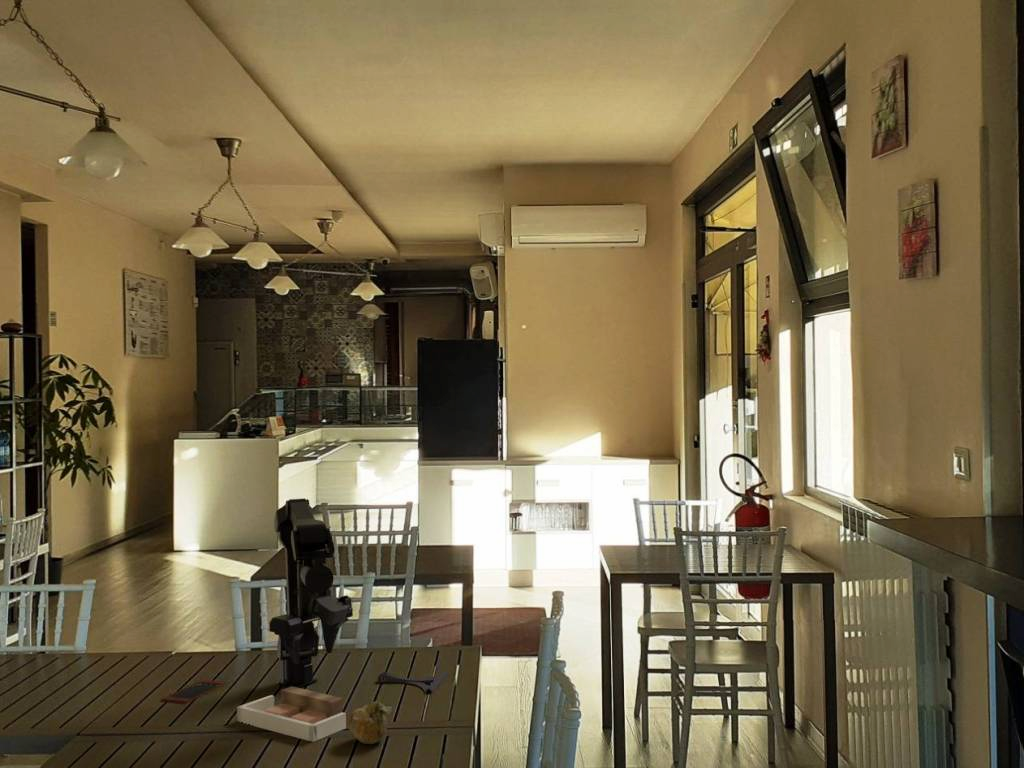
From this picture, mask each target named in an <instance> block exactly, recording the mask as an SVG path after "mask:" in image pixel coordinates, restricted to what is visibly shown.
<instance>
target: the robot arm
mask: <svg viewBox="0 0 1024 768" xmlns="http://www.w3.org/2000/svg"><path fill="white" fill-rule="evenodd" d="M284 503H285V504H284V505H282V506H281V507H279V508H278V509H277V510H276V511H275V515H274V520H273V521H274V523H273V524H274V532H275V533H277V539H278V542H279V543H280V545H281V546H282V548H283V549H284V552H285V555H284V556H285V558H284V559H285V580H286V581H285V582H286V584H285V585H286V604H287V605H286V606H287V609H286V610H287V614H281V615H277V616H273V617H272V618H271V619H270V620H269V624H268V625H269V632H270V633H274V635H275V636H276V635H277V636H278V639H277V645H276V647H277V650H276V651H277V657H278V658H279V659H278V660H279V661H280V662H281V661H282V673H283V674H282V676H283V679H282V680H279V681H278V682H277V684H278V685H281V686H286V687H292V686H293V687H297V688H302V687H304V686H307V685H310V684H313V683H315V682H317V681H318V678H314V675H313V673H314V670H313V669H314V667H313V666H314V665H313V664H314V663H313V661H312V657H315V658H316V657H318V655H319V644H320V635H319V634H318V632H317V630H316V629H315V624H314V622H317V621H319V620H320V624H321V630H322V636H323V643H324V647H325V651H326V653H327V654H332V652H333V649H334V645H335V643H336V639H337V637H338V634H339V631H340V628H341V627H342V626H343V625H344V624H345V623H346V622H348V621H349V619H350V618H351V617H353V616H354V613H353V611H354V610H353V605H352V604H353V603H352V597H350V596H349V595H347V594H345V595H343V596H340V597H335V598H334V597H332V594H331V593H332V590H331V587H332V585H333V583H334V579H335V578H334V574H333V571H332V570H331V568H330V567H329V566H328V565H327V563H326V562H327V559H332V558H334V553H335V543H334V538H333V534H332V532H331V530H330V528H329V527H327V524H326V523H325V522H324V521H323V520H320V519H316V518H315V517H314V511H313V507H311V506H310V500H309V499H308V498H307V499H306V498H291V499H288V500H286V501H285V502H284Z"/></svg>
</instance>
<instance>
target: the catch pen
mask: <svg viewBox="0 0 1024 768" xmlns="http://www.w3.org/2000/svg"><path fill="white" fill-rule="evenodd" d="M274 706H275V696H274V695H272V694H271V695H268V696H265V697H262V698H259V699H256V700H253V701H250V702H247V703H244V704H242V705H239V706H237V707H236V710H237V711H236V713H237V715H236V716H237V717H236V718H237V722H238V721H239V723H241V722H243V723H242V724H245V723H246V724H245V725H248V724H250V725H249V726H252V725H253V727H256V728H260V729H264V730H267V731H271V732H275V733H279V734H282V735H286V736H289V737H290V736H291V737H294V738H298V739H300V740H304V741H309V742H313V743H314V742H316V741H318V740H321V739H325V738H326V737H328V736H331V735H333V734H336V733H338V732H340V731H342V730H345V729H347V716H346V714H347V713H346V712H342V713H339V714H337V715H334V716H332V717H329V718H327V719H324V720H322V721H319V722H317V723H314V724H311V723H307V722H303V721H299V720H295V719H291V718H288V717H284V716H280V715H276V714H272V713H268V712H265V709H268V708H271V707H274Z"/></svg>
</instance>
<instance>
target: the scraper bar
mask: <svg viewBox="0 0 1024 768" xmlns="http://www.w3.org/2000/svg"><path fill="white" fill-rule="evenodd" d="M280 695H281V697H280V698H281V700H280V701H281V702H280V704H282V703H285V704H288V705H292V706H296V707H300V713H302V712H304V711H307V710H313V711H317V712H321V713H325V714H327V718H329V717H332V716H334V715H337V714H339V713H342V712H343V698H342V697H339V696H335V695H330V694H326V693H321V692H317V691H313V690H309V689H305V688H302V687H299V688H297V687H293V686H292V687H290V686H288V687H286V688H284V689H281V690H280ZM343 713H344V712H343Z"/></svg>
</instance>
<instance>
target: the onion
mask: <svg viewBox="0 0 1024 768" xmlns="http://www.w3.org/2000/svg"><path fill="white" fill-rule="evenodd" d="M393 710H394V709H393V707H392V706H385V705H384V704H382V703H381V702H379V701H369V703H368V704H366V705H362V706H360V707H359V708H357V709H354V710H353V711H352V712H351V713H350V715H349V718H348V723H347V726H348V729H349V732H350V733H351V734H352V735H353V737H354V738H355V739H356V740H358V741H359V742H360V743H362V744H365V745H373V744H376V743H379V742H381V740H382V739H383V738H384V736H385V735H386V733H387V730H388V726H389V724H388V720H387V717H386V715H391V714H392V712H393Z"/></svg>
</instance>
